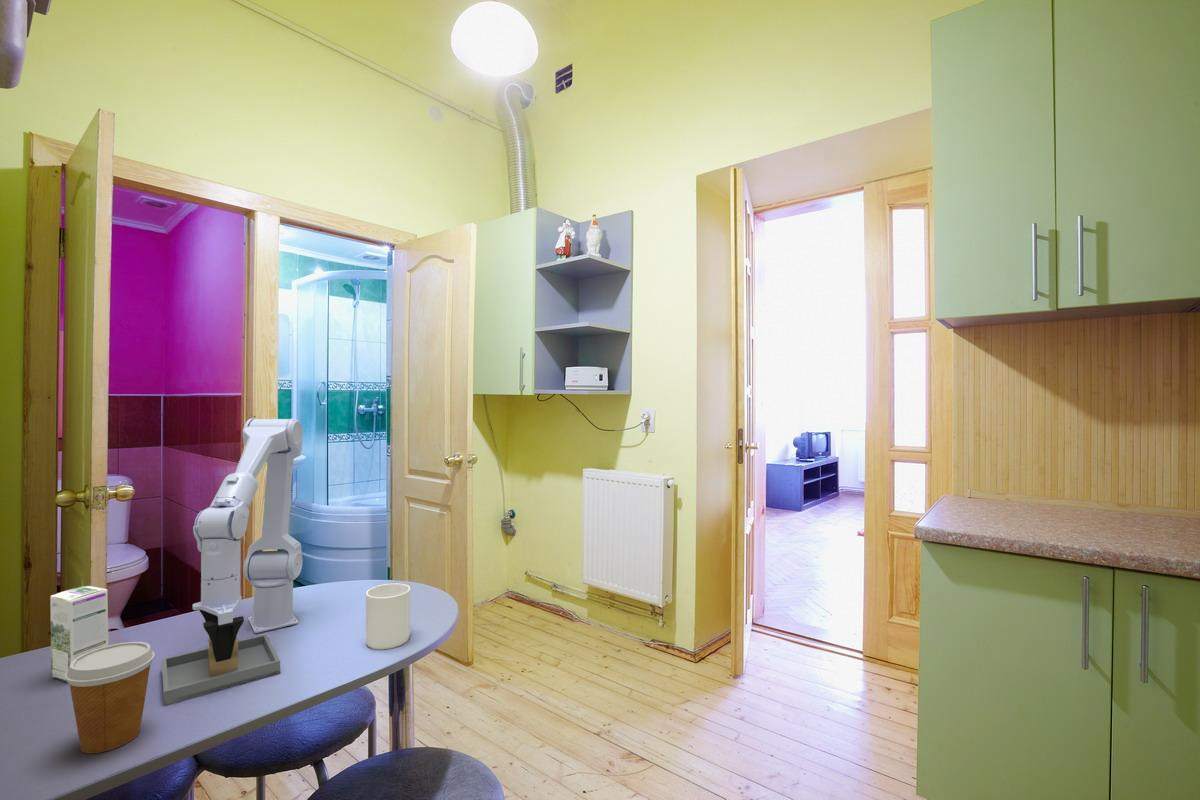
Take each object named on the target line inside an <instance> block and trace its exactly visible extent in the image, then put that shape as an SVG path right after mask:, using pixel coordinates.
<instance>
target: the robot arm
mask: <svg viewBox="0 0 1200 800" xmlns="http://www.w3.org/2000/svg"><path fill="white" fill-rule="evenodd" d="M303 436H304V429H303V427H302V424H301V422H300V421H299V420H298V418H294V417H293V418H255V417H253V418H248V419H247V420H246V422H245V423H244V425H243V428H242V440H243V442H242V443H243V445H244V446H243V451H242V453H241V456H240V457H239V458H240V459H239V461H238V463H237V466H236V469H235V472H232V473H229V474H227V476H225V478H224V479H223V481H222V483H221V485H220V486H219V489H218V490H217V492H216V494H215V496H214V497H213V500H212V502H211V503H210V505H209V507H206V508H205V509H203V510H200V511H199V513H197V515H196V517H195V520H194V525H193V526H192V527H193V528H192V530H193V531H192V533H193V537H194V539H195V540H196V543H197V544H196V545H197V550H198V552H201V553H200V562H201V563H200V573H201V575H200V576H201V577H200V580H201V581H200V601H199V602H195V603H193V604H192V610H193V611H199V612H200V614H201V615H202V617H203V619H204V621H203V622H202V624H203V629H204V630H205V632H206V634H207V635H208V639H211V642H212V647H213V653H214V657H215V660H216V662H220V661H224V660H228V659H231V656H232V652H233V648H234V643H235V639H236V636H237V635H238V633H239V630H240V629H241V627H242V625H243V623H244V622H245V618H244V616H243V615H240V616H236V617H234V612H235V610H237V608H238V607H239V605H240V604H241V602H242V600H243V599H242V598H243V597H242V595H241V558H242V557H241V555H242V554H241V553H242V552H241V546H242V545H241V543H242V541H241V539H242V538H243V537H244V535H245V533H246V531H247V530H248V522H249V516H250V514H251V513H250V510H249V508H250V506H251V503H252V502H253V499H254V497H255V496H256V493H257V490H258V488H259V483H258V480H257V479H256V478H257V477H258V475H259V474H260V472H261V470H262V469H263V467H264V465H265V463H266V465H267V466H266V476H265V477H266V478H265V479H266V480H265V490H264V491H265V492H264V499H263V500H264V503H263V504H264V505H263V514H262V515H263V516H262V526H261V527H262V528H261V536H260V537H259V538H258V539H257V540H255V541H254V542H253V543H251V544H250V545H249V546H248V547H247V554H246V558H245V560H244V563H243V575H244V578H245V580H246V581H248V582H249V583H250V586H253V615H252V616H249V617H248V619H247V620H248V622H249V624H250V626H251V629H252V630H253V633H254V634H260V633H263V632H269V631H271V630H277V629H280V628H284V627H285V628H286V627H289V626H294V625H297V624H298V623H299V621H298V619H297V617H296V616H295V615H294V580H296V579H297V578H298V577H299V576H300V574H301V572H302V569H303V554H302V553H303V552H302V544H301V542H300V541H298V540H297V539H295V538H294V537H293V536H291V535H290V534H289V523H290V511H291V497H292V483H293V482H292V481H293V470H294V469H293V467H294V460H295V459H296V458H298V457H300V456H301V455H302V449H303V448H302V447H303V438H304V437H303Z"/></svg>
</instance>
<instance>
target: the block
mask: <svg viewBox="0 0 1200 800" xmlns="http://www.w3.org/2000/svg"><path fill="white" fill-rule="evenodd" d="M238 641H239V639H238V637H237V636H236V639H235V643H234V648H233V652H232V656H231V659H228V660H224V661H220V662H216V660H215V657H214V653H213V647H212V642H211V639H210V638H208V641H207V642H208V645H207V646H208V647H207V648H208V668H209V673H210V676H213V675H217V674H221V673H225V672H229V671H232V670H236V669H238Z"/></svg>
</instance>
